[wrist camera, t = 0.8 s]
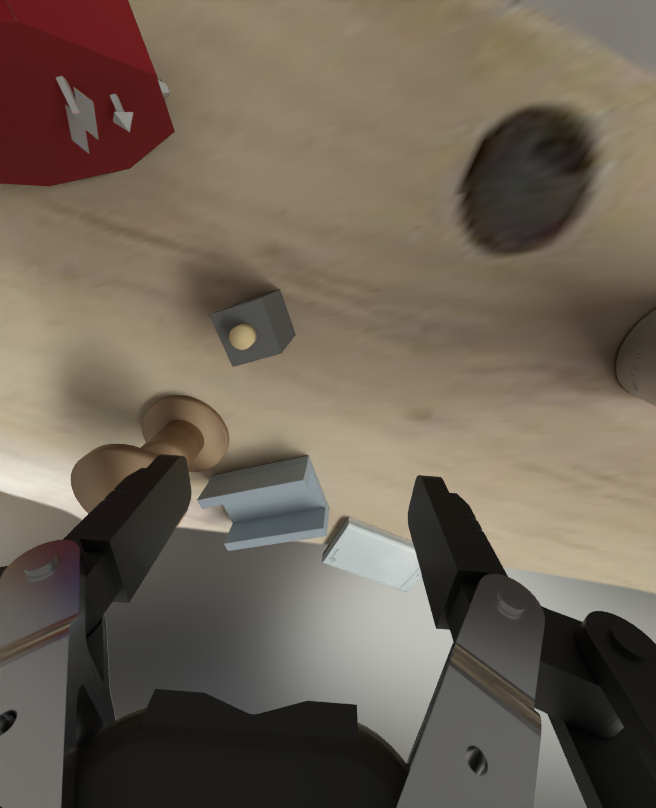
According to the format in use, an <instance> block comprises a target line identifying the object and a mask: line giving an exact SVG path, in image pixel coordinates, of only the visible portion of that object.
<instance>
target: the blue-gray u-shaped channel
mask: <svg viewBox="0 0 656 808" xmlns="http://www.w3.org/2000/svg"><path fill="white" fill-rule="evenodd" d="M197 501H198V503H199V504H200V506H201V508H208V507H213V506H219V505H223V506H224V508H225V510H226V512H227V513H228V515H229V517H230V518H231V520H232V522H233V524H232V527H231V529H230V531H229V533H228V536H227V538H226V540H225V542H224V545H225V546H226V548H227V550H228V551H229V550H236V549H243V548H250V547H256V546H262V545H269V544H276V543H282V542H290V541H296V540H303V539H309V538H316V537H323V536H327V527H328V516H329V507H328V504H327V501H326V499H325V496H324V494H323V491H322V488H321V486H320V483H319V481H318V478H317V476H316V473H315V470H314V468H313V465H312V463H311V460H310V458H309V456H304V457H299V458H295V459H290V460H285V461H280V462H275V463H270V464H265V465H261V466H256V467H251V468H246V469H241V470H236V471H232V472H227V473H222V474H217V475H212V477H211V479H210V480H209V482H208V484H207V485H206V487H205V489H204V490H203V492H202V493H201V495H200V496H199V498H198V499H197Z"/></svg>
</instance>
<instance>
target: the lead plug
mask: <svg viewBox="0 0 656 808" xmlns="http://www.w3.org/2000/svg"><path fill="white" fill-rule="evenodd" d="M210 317H211V319H212V322H213V324H214V326H215V328H216V331H217V333H218V335H219V337H220V339H221V342H222V344H223V346H224V348H225V351H226V353H227V355H228V357H229V360H230V362H231V364H232V366H233V367H234V366H237V365H241V364H245V363H248V362H252V361H255V360H259V359H263V358H266V357H270V356H273V355H277V354H280V353H282V352H283V351H284V349H285V348H286V346H287V345H288V344H289V342H290V341H291V340H292V338H293V337H294V336H295V332H294V329H293V326H292V323H291V320H290V317H289V314H288V311H287V308H286V305H285V302H284V300H283V297H282V294H281V291H280V290H278V291H274V292H271V293H268V294H265V295H262V296H259V297H256V298H253V299H250V300H247V301H243V302H240V303H237V304H235V305H232V306H230V307H227V308H225V309H223V310H220V311H218V312H215V313H213V314H210Z"/></svg>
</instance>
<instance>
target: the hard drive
mask: <svg viewBox="0 0 656 808" xmlns="http://www.w3.org/2000/svg"><path fill="white" fill-rule="evenodd" d="M322 562H323V563H326V564H329V565H331V566H334V567H337V568H340V569H342V570H345V571H348V572H351V573H353V574H356V575H359V576H362V577H364V578H367V579H370V580H372V581H375V582H378V583H381V584H383V585H386V586H389V587H392V588H395V589H398V590H400V591H404V592H407V591H408V590H409V589H410V588H411V587H412V586H413V585H414V584H415V582H416V581H417V580H418V579H419V578H420V577H421V576H422V574H421V571H420V567H419V563H418V560H417V556H416V552H415V548H414V545H413V542H412V541H409V540H407V539H404V538H402V537H399V536H397V535H394V534H391V533H389V532H386V531H384V530H381V529H379V528H376V527H374V526H371V525H368V524H366V523H363V522H361V521H358V520H356V519H353V518H350V517H349V518H348V519H347V521H346V522H345V524H344V525H343V527H342V528H341V530H340V531H339V533H338V534H337V535H336V537H335V538H334V540H333V541H332V543H331V544H330V545H328V546H327V548H326V549H325V551H324V553H323V556H322Z"/></svg>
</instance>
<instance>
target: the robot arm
mask: <svg viewBox="0 0 656 808" xmlns="http://www.w3.org/2000/svg"><path fill="white" fill-rule="evenodd" d="M616 375H617V378H618V381H619V383H620V384H621V385H622V387H623V388H624V389H625V390H626V391H628V392H629V393H630V394H632V395H634V396H636V397H638V398H640V399H642V400H644V401H646V402H648V403H650V404H652V405H654V406H656V309H655V310H653V311H652V312H651V313H650V314H648V315H647V316H646V317H645V318H643V319H642V320H641V321H640V322H639V323H638V324H637V325H636V326H635V327H634V328H633V329H632V330H631V332H630V333H629V335H628V336H627V337H626V339H625V340H624V342H623V344H622V346H621V348H620V350H619V353H618V356H617V361H616ZM190 500H191V485H190V478H189V471H188V465H187V460H186V457H185V456H180V455H167V454H160V455H158V456H157V457H156V458H155V459H154V460H153V462H152V463H151V464H150V465H149V466H148V467H147V468H140V469H139V470H137V471H135V472H133V473H132V474H130V475H128V476H127V477H125V478H124V479H123V480H122V481H121V482H120V483H119V484H118V485H117V486H116V487H115V488H114V491H111V492H110V493H109V494H108V495H107V496H106V497H105V498H104V501H101V502H100V503H99V504H98V505H97V506H96V507H95V508H94V509H93V510H92V511H91V512H90V513H89V514H88V515H87V516H86V517H85V518H84V519H83V520H82V521H81V522H80V523H79V524H78V525H77V526H76V527H75V528H74V529H73V530H72V531H71V532H70V533H69V534H68V535H67V536H66V537H65V538H64V539H63V540H56V541H51V542H47V543H44V544H42V545H39V546H37V547H35V548H33V549H31V550H29V551H27V552H26V553H24V554H22V555H21V556H19V557H18V558H17V559H15V560H14V561H13V562H12V563H11V564H10V565H9V566H5V567H0V808H533V805H534V796H535V787H536V777H537V768H538V759H539V750H540V740H541V717H540V714H539V713H537V712H536V711H535V710H534V708H536V709H538V710H541V711H543V712H545V713H547V714H548V716H549V719H550V721H551V723H552V726H553V728H554V730H555V733H556V735H557V738H558V740H559V742H560V744H561V747H562V749H563V752H564V754H565V757H566V759H567V761H568V764H569V766H570V768H571V771H572V773H573V775H574V778H575V780H576V783H577V785H578V787H579V790H580V792H581V794H582V797H583V799H584V801H585V804H586V806H587V808H656V644H655V643H654V642H653V641H652V640H651V639H650V638H649V637H648V636H647V635H646V634H645V633H643V632H642V631H641V630H640V629H638V628H637V627H636V626H634V625H633V624H631V623H630V622H628V621H626V620H624V619H623V618H621V617H619V616H616V615H614V614H611V613H608V612H603V611H595V612H591V613H589V614H588V616H587V617H586V618H585V620H584V621H583V622H581V621H579V620H576V619H573V618H570V617H568V616H565V615H562V614H560V613H557V612H554V611H552V610H549V609H547V608H544V607H542V606H541V605H540V603H539V602H538V600H537V599H536V598H535V596H534V595H533V594H532V593H531V592H530V591H529V590H528V589H527V588H526V587H524V586H523V585H521V584H520V583H519V582H517V581H515V580H514V579H511V578H509V577H508V576H507V574H506V572H505V570H504V569H503V567H502V565H501V563H500V561H499V559H498V558H497V556H496V554H495V552H494V550H493V548H492V547H491V545H490V543H489V541H488V539H487V537H486V536H485V534H484V532H482V528H481V526H480V525H479V523H478V521H476V517H475V515H474V514H473V512H472V510H471V508H470V506H469V505H468V504H467V503H466V502H465V501H464V500H463V499H462V498H461V497H460V496H459V495H458V494H457V493H449V491H448V489H447V487H446V485H445V483H444V481H443V479H442V478H441V477H434V476H422V475H418V476H417V478H416V481H415V485H414V489H413V493H412V497H411V501H410V505H409V510H408V525H409V530H410V534H411V537H412V541H413V545H414V548H415V552H416V556H417V560H418V563H419V567H420V571H421V574H422V578H423V582H424V586H425V589H426V593H427V596H428V600H429V604H430V607H431V611H432V615H433V619H434V622H435V626H436V629H449V630H450V631H451V634H452V638H453V641H454V642H453V644H452V647H451V649H450V652H449V655H448V657H447V660H446V662H445V665H444V668H443V670H442V673H441V675H440V678H439V681H438V683H437V686H436V688H435V691H434V694H433V697H432V699H431V701H430V704H429V707H428V709H427V712H426V714H425V717H424V720H423V722H422V725H421V727H420V729H419V732H418V735H417V737H416V740H415V742H414V744H413V747H412V749H411V752H410V755H409V757H408V760H407V762H406V763H405V761H404V760H403V759H402V758H401V756H400V755H399V754H398V753H397V752H396V751H395V750H394V749H393V748H392V746H391V745H390V744H389V743H387V742H386V741H385V740H384V739H383V738H382V737H381V736H379V735H378V734H377V733H375V732H374V731H372V730H371V729H369V728H368V727H366V726H364V725H362V724H360V723H358V722H357V705H353V704H341V703H327V702H315V701H305V702H301V703H298V704H294V705H290V706H286V707H283V708H279V709H275V710H271V711H268V712H264V713H260V714H255V715H254V714H248V713H246V712H244V711H242V710H239V709H237V708H235V707H233V706H231V705H229V704H227V703H225V702H223V701H221V700H219V699H216V698H214V697H212V696H210V695H208V694H206V693H199V692H187V691H174V690H161V689H155V690H154V693H153V695H152V698H151V699H150V702H149V704H148V706H147V708H144V709H141V710H138V711H136V712H133V713H131V714H128V715H126V716H124V717H122V718H120V719H119V720H117V721H116V719H115V713H114V707H113V703H112V699H111V693H110V683H109V664H108V646H107V627H106V616H105V614H104V613H105V612H106V610H107V609H108V607H109V606H110V604H111V603H112V601H113V602H125V603H129V602H130V601H131V599H132V597H133V596H134V594H135V593H136V591H137V589H138V588H139V586H140V584H141V583H142V581H143V580H144V578H145V576H146V575H147V573H148V572H149V570H150V568H151V567H152V565H153V564H154V562H155V560H156V559H157V557H158V555H159V554H160V552H161V551H162V549H163V547H164V546H165V544H166V543H167V541H168V539H169V538H170V536H171V535H172V533H173V531H174V529H175V528H176V527H177V525H178V523H179V522H180V520H181V519H182V517H183V515H184V514H185V512H186V510H187V509H188V506H189V504H190Z"/></svg>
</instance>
